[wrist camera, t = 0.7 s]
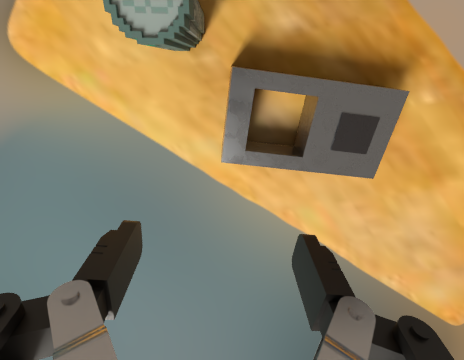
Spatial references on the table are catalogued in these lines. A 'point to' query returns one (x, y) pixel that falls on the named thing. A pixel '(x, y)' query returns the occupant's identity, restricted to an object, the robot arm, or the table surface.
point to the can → (159, 22)
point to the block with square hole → (314, 124)
